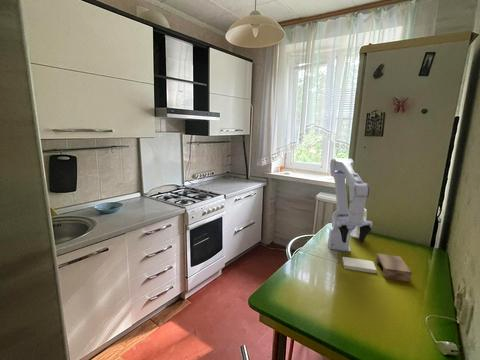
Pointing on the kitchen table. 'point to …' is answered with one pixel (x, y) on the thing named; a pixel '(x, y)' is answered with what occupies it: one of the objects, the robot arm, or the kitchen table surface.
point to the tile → (359, 265)
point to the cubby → (393, 267)
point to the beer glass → (356, 231)
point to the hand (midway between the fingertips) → (352, 241)
